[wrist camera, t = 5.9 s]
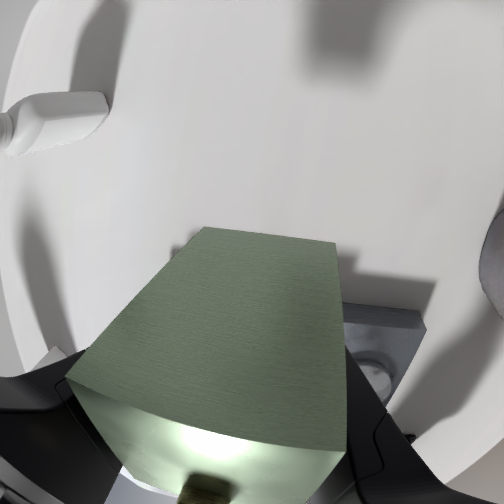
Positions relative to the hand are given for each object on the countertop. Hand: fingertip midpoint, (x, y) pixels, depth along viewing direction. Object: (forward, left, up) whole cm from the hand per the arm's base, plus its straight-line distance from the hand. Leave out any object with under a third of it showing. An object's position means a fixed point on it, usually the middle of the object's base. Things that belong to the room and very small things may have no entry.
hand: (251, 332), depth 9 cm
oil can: (0, 0, -2) cm, 2 cm away
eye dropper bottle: (+17, -7, -13) cm, 22 cm away
